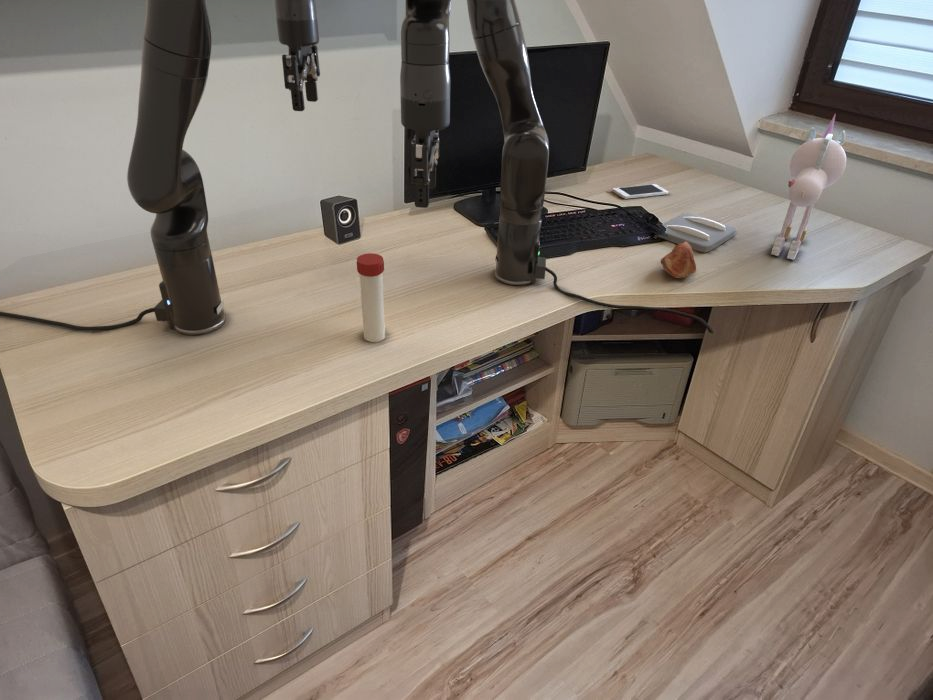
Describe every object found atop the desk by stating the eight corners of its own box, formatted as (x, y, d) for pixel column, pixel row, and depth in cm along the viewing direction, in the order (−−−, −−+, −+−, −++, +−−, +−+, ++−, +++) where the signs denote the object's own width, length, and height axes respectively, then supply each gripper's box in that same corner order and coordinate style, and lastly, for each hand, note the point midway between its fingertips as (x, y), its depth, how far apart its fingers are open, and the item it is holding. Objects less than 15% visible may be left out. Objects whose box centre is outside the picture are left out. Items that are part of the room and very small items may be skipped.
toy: (826, 222, 178) (867, 110, 161) (806, 269, 152) (852, 142, 135) (779, 212, 183) (814, 103, 167) (751, 256, 157) (789, 132, 141)
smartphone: (611, 191, 194) (612, 187, 193) (654, 186, 199) (655, 183, 198) (624, 199, 188) (625, 196, 188) (668, 194, 193) (668, 191, 193)
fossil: (669, 273, 140) (675, 228, 140) (641, 275, 147) (646, 232, 147) (707, 283, 147) (712, 240, 147) (678, 285, 154) (683, 244, 154)
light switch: (708, 241, 156) (653, 223, 165) (705, 253, 158) (650, 234, 167) (740, 223, 167) (687, 206, 176) (737, 234, 169) (684, 217, 178)
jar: (364, 342, 120) (358, 266, 111) (363, 331, 123) (358, 256, 115) (385, 341, 121) (382, 265, 112) (384, 330, 124) (381, 255, 115)
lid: (357, 277, 112) (356, 265, 111) (357, 265, 116) (356, 253, 115) (384, 276, 113) (384, 264, 111) (383, 264, 117) (383, 252, 115)
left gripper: (408, 82, 102) (410, 181, 111) (391, 103, 90) (395, 211, 99) (455, 85, 102) (452, 184, 111) (444, 106, 90) (443, 215, 99)
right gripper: (303, 21, 114) (313, 115, 123) (327, 12, 125) (334, 99, 134) (263, 19, 114) (275, 113, 123) (290, 10, 126) (299, 97, 135)
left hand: (425, 197), depth 105 cm, fingers open, 8 cm apart
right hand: (305, 105), depth 129 cm, fingers open, 8 cm apart
